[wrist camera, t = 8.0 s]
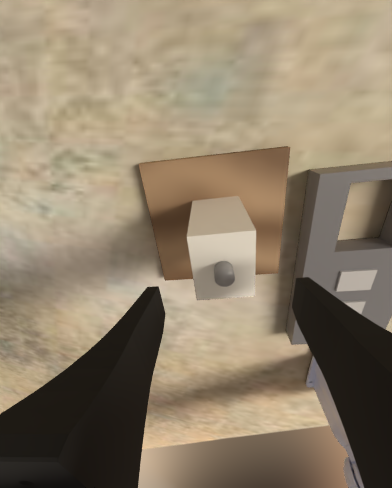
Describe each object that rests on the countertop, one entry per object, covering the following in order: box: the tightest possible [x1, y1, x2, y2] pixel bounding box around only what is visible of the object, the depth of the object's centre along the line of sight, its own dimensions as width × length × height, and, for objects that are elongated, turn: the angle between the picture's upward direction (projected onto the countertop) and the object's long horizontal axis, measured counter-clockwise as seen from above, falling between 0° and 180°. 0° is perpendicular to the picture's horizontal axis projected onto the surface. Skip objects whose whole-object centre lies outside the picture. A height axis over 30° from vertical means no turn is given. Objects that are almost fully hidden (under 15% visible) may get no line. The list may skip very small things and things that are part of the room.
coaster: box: [139, 146, 290, 280], centre depth 20 cm, size 12×12×1 cm
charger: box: [187, 196, 256, 300], centre depth 16 cm, size 5×4×8 cm
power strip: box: [286, 161, 392, 345], centre depth 21 cm, size 20×10×3 cm, turn 6°
